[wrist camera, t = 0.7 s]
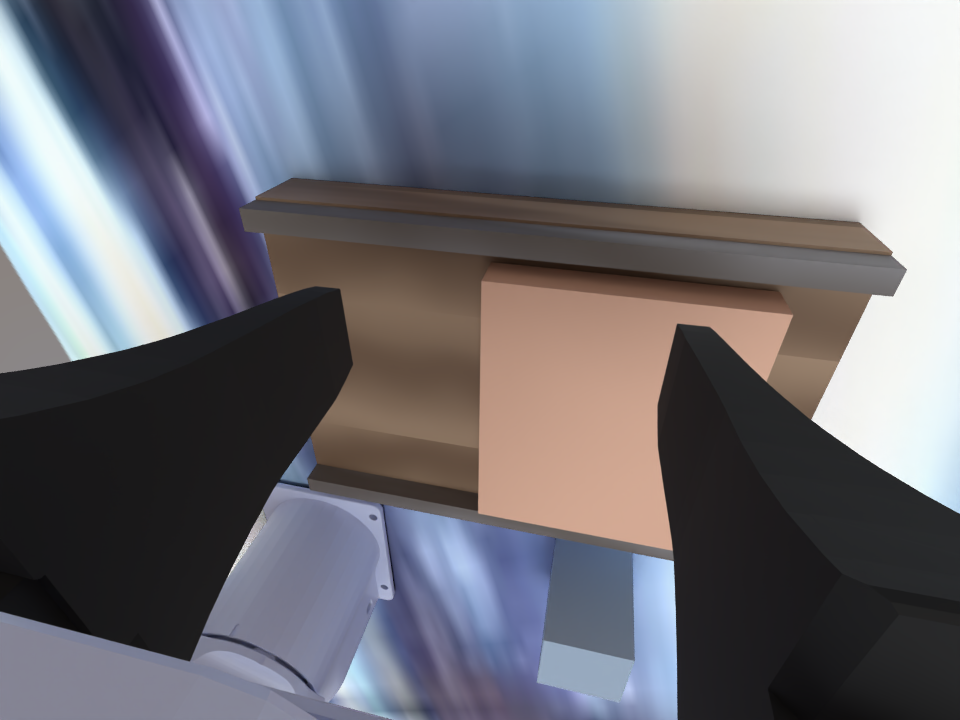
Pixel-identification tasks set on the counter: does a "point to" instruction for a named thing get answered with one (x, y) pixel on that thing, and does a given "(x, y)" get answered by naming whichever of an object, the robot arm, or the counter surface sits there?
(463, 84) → the counter surface
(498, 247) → the board
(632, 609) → the block
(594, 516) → the lid
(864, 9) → the counter surface
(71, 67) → the counter surface
